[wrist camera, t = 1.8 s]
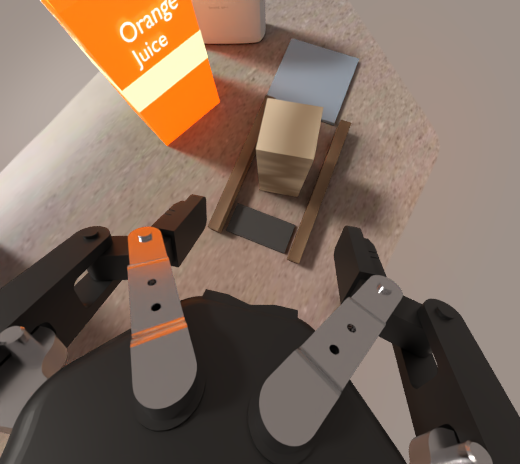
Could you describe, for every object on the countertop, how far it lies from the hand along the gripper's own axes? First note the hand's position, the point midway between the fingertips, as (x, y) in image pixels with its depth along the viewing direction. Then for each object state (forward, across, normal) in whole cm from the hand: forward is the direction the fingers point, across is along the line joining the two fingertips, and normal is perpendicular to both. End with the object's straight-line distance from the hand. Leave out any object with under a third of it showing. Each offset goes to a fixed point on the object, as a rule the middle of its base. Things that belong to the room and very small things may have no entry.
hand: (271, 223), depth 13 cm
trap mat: (+10, +1, +7) cm, 12 cm away
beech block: (+14, 0, +3) cm, 15 cm away
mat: (+24, -1, -6) cm, 25 cm away
